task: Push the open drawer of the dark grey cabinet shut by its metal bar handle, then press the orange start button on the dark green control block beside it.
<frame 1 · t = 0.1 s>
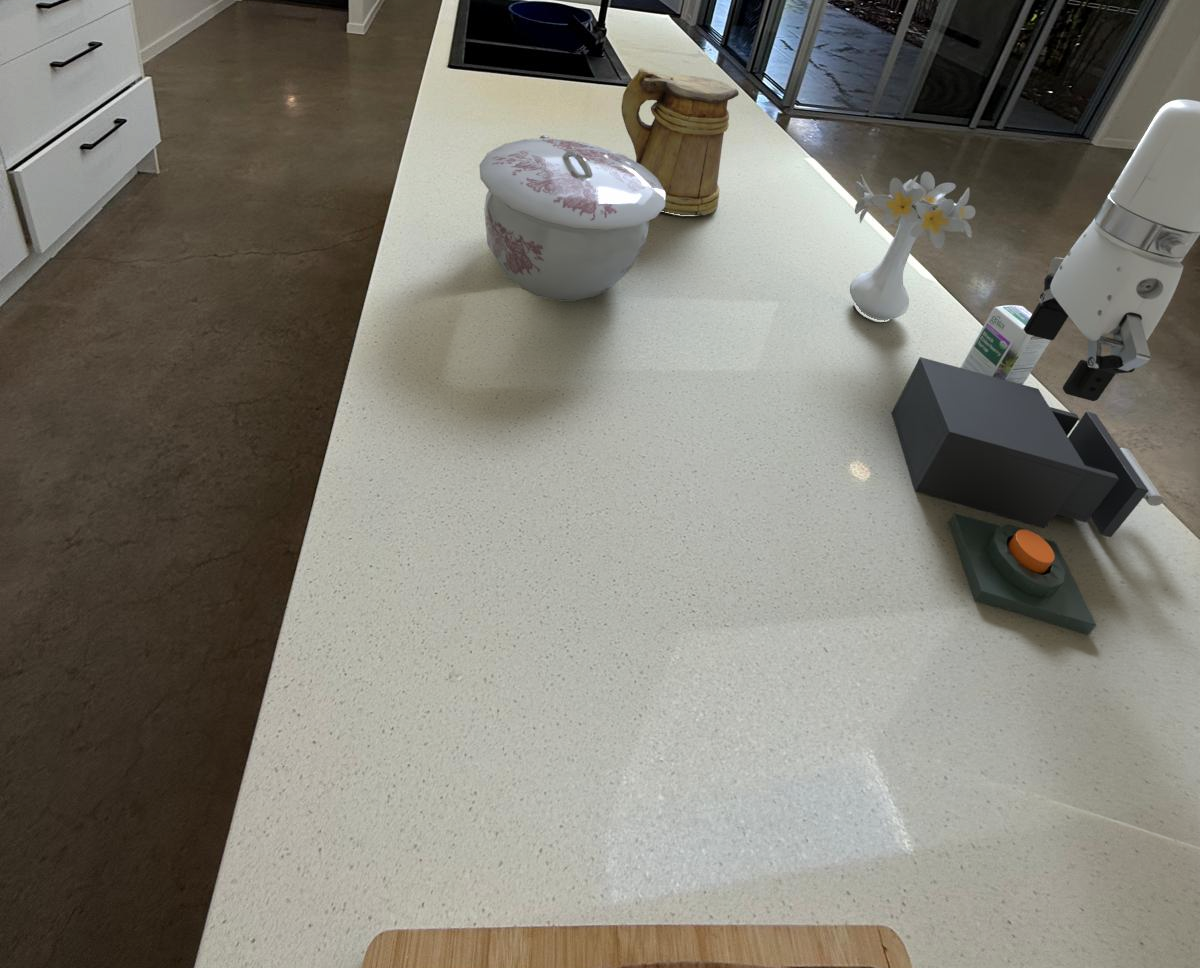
hand: (1056, 363, 70), 20 cm above the counter, tool pointing down, fingers open, 9 cm apart
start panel: (1013, 575, 69), on the counter
dark grey cabinet: (961, 466, 81), on the counter
flower vase: (868, 313, 109), on the counter
drawer: (1063, 461, 78), point 5 cm above the counter, slide at 6.0 cm
start button: (1031, 551, 67), point 4 cm above the counter, slide at 0.1 cm
tankard: (660, 195, 134), on the counter
chamber pot: (556, 271, 103), on the counter
syrup box: (977, 398, 94), on the counter
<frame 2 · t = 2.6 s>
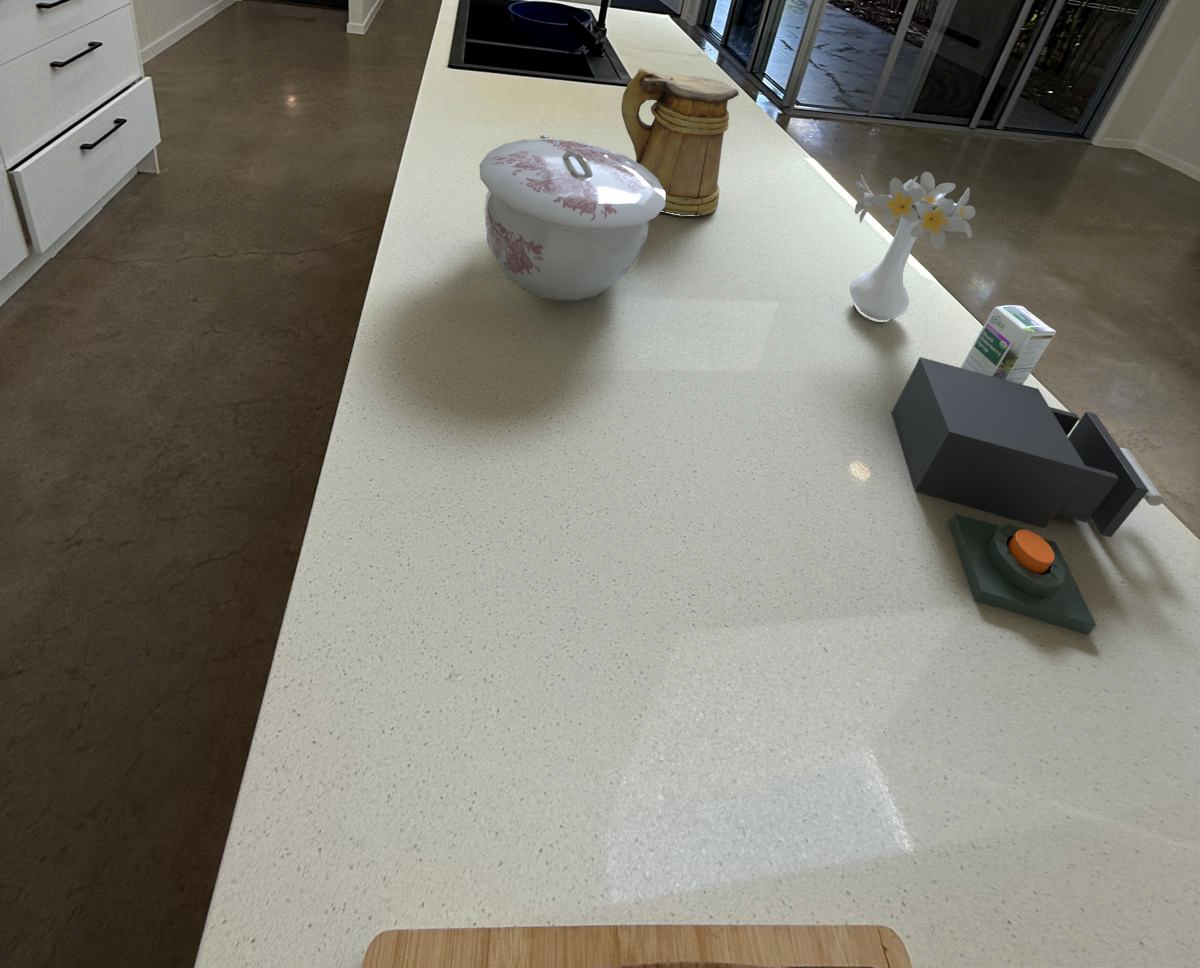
nothing on the counter moved.
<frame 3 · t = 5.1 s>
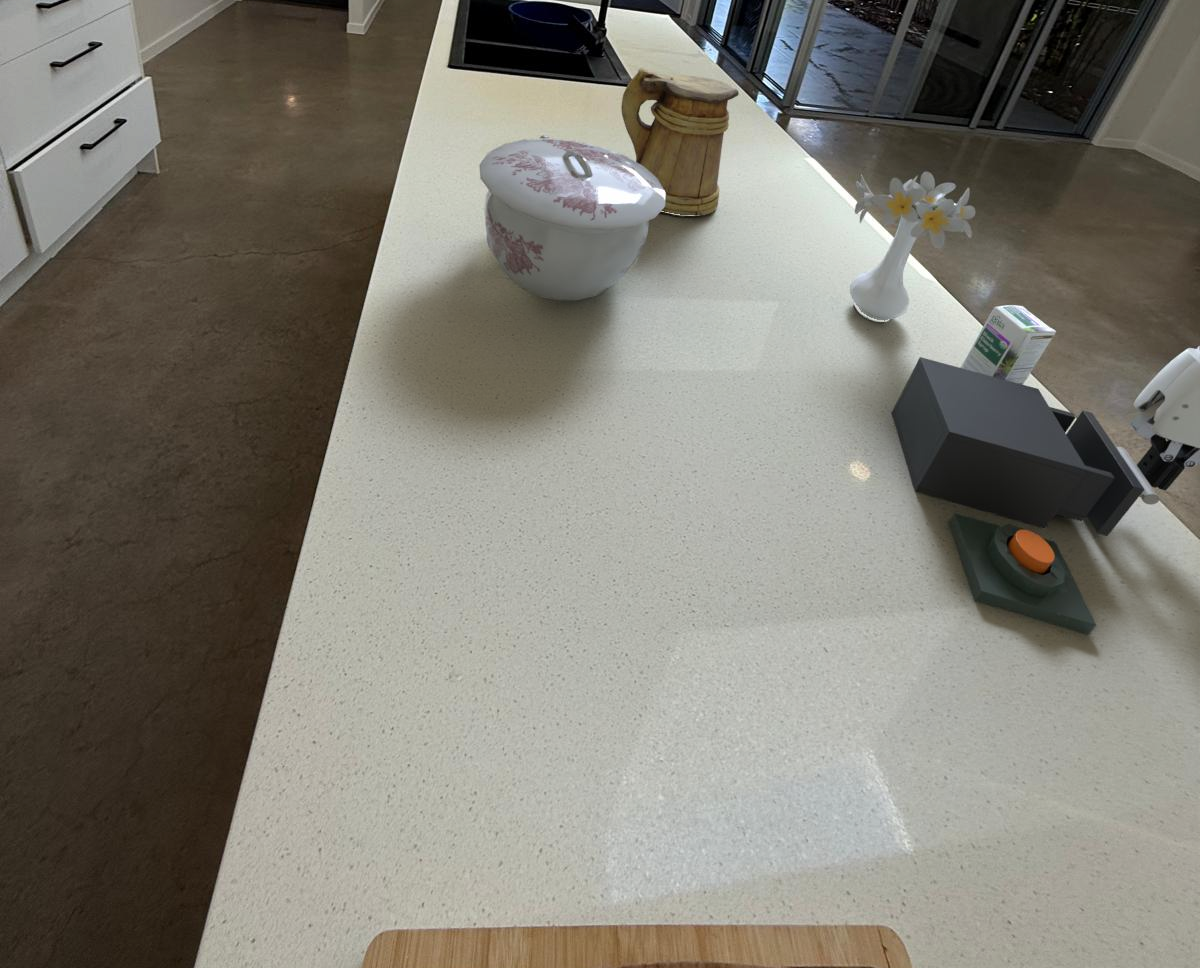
hand: (1150, 478, 77), 6 cm above the counter, tool pointing down, fingers closed
drawer: (1059, 460, 78), point 5 cm above the counter, slide at 5.6 cm, touching gripper
everything else where it was.
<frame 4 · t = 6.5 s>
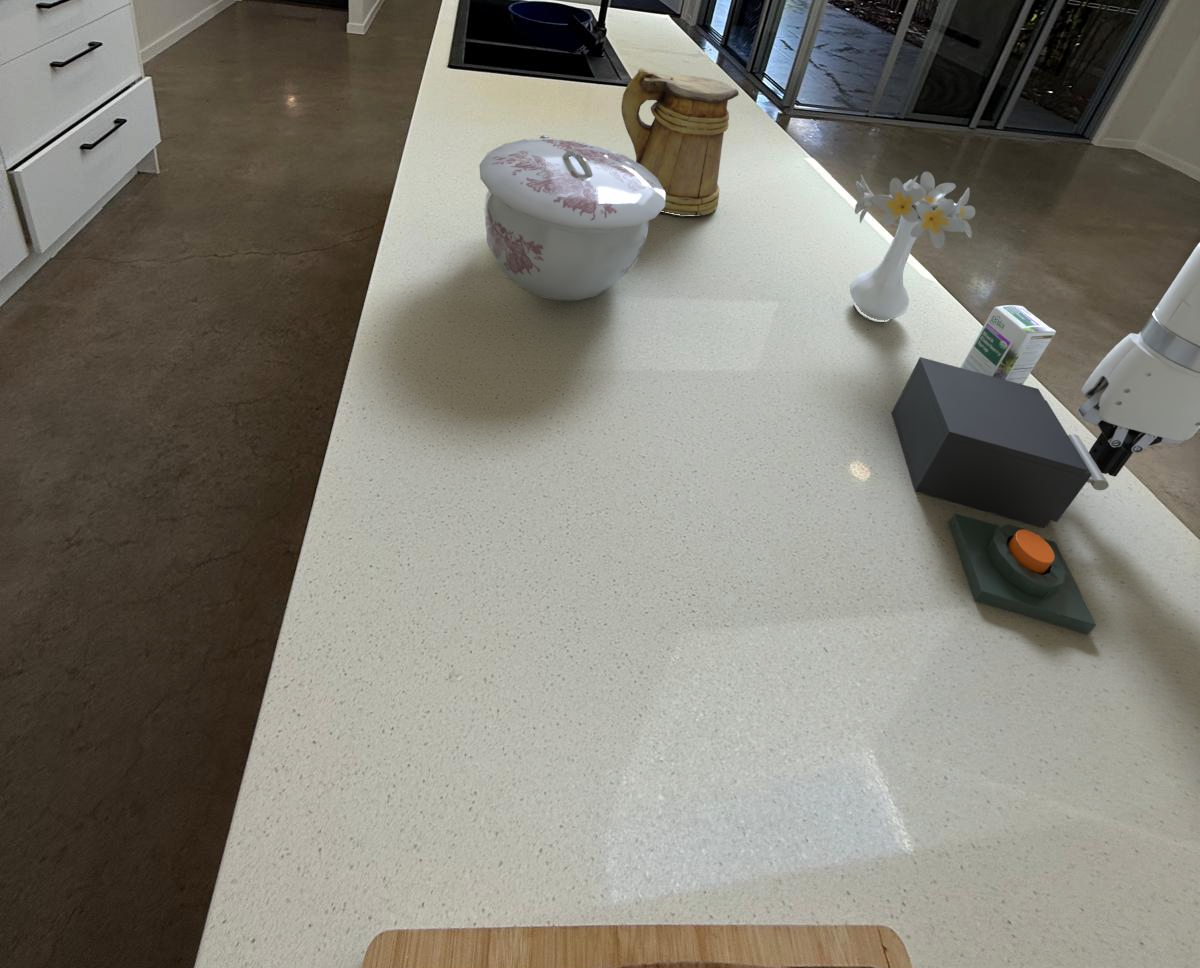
hand: (1101, 465, 78), 6 cm above the counter, tool pointing down, fingers closed
drawer: (1012, 447, 79), point 5 cm above the counter, slide at 0.0 cm, touching dark grey cabinet, gripper
everything else where it was.
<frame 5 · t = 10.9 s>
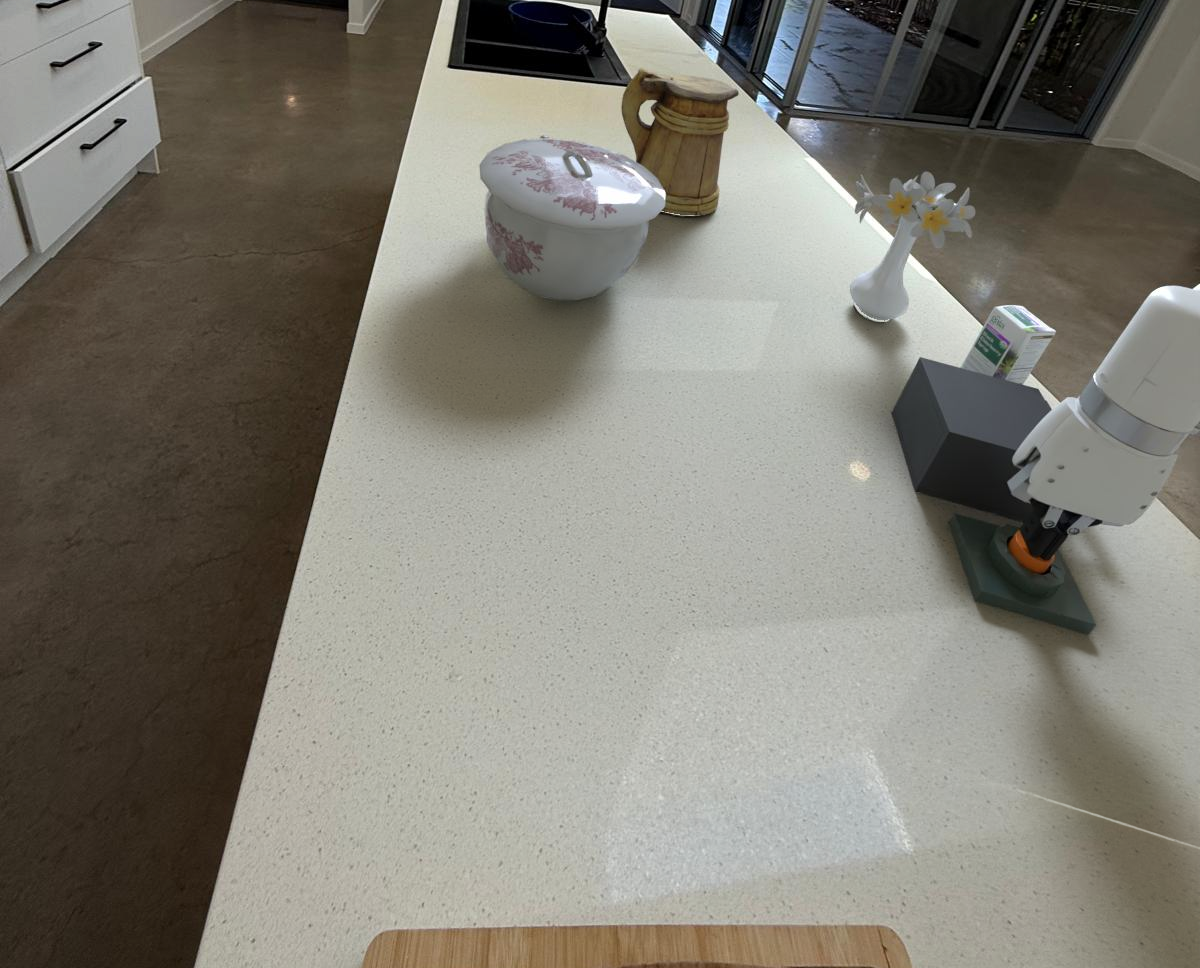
hand: (1033, 545, 67), 5 cm above the counter, tool pointing down, fingers closed
drawer: (1012, 447, 79), point 5 cm above the counter, slide at 0.0 cm, touching dark grey cabinet
start button: (1030, 551, 67), point 4 cm above the counter, slide at 0.1 cm, touching gripper
everything else where it was.
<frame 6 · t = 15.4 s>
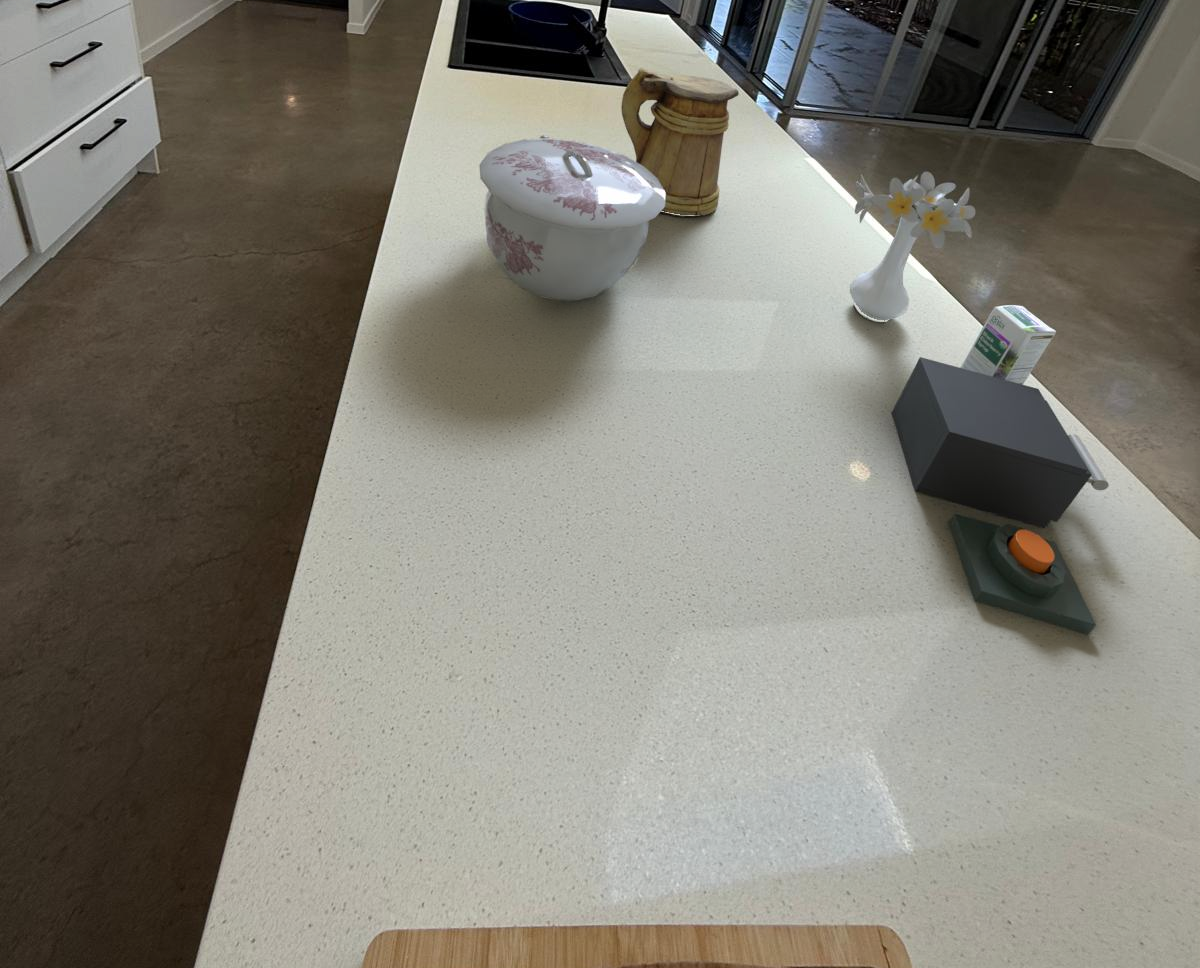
start button: (1031, 551, 67), point 4 cm above the counter, slide at 0.1 cm
everything else where it was.
at the end: drawer slide at 0.0 cm; start button pushed in 1.1 cm at the most during the clip, back to where it started at the end; start button slide at 0.1 cm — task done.
